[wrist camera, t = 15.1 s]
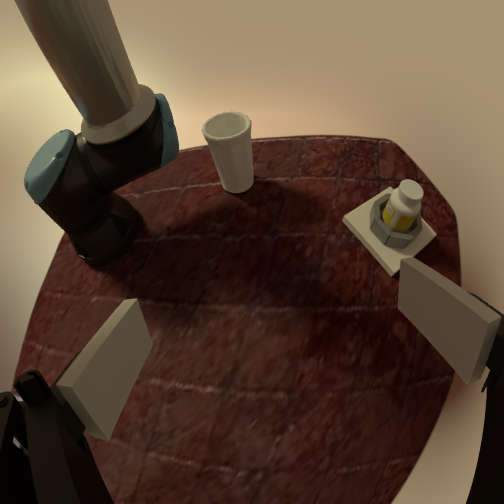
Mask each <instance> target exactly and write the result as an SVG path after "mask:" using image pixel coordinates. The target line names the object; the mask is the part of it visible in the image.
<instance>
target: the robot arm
mask: <svg viewBox="0 0 504 504" xmlns="http://www.w3.org/2000/svg"><path fill="white" fill-rule="evenodd" d="M15 2H16V4H17V6H18V8H19V10H20V12H21V14H22V16H23V18H24V20H25V22H26V24H27V26H28V27H29V29H30V31H31V33H32V35H33V36H34V38H35V40H36V42H37V44H38V46H39V47H40V49H41V51H42V52H43V54H44V56H45V58H46V59H47V61H48V62H49V64H50V66H51V67H52V69H53V71H54V72H55V74H56V76H57V77H58V79H59V81H60V82H61V84H62V85H63V87H64V89H65V90H66V92H67V93H68V95H69V96H70V98H71V100H72V101H73V103H74V104H75V106H76V107H77V108H78V110H79V112H80V113H81V115H82V116H83V118H84V119H83V121H82V124H81V133H79V134H77V135H75V134H74V132H72V131H71V130H68V129H65V130H64V131H60V132H58V133H56V134H55V135H54V136H52V137H51V138H50V139H49V140H48V141H47V142H46V143H45V144H44V145H43V146H42V147H41V148H40V149H39V151H38V152H37V153H36V155H35V156H34V157H33V159H32V161H31V163H30V164H29V166H28V168H27V171H26V173H25V178H24V186H25V189H26V191H27V192H28V194H29V195H30V196H31V198H32V199H33V200H34V202H35V204H37V205H39V206H40V207H41V209H42V210H44V211H45V212H46V214H48V215H49V217H51V219H53V221H55V222H56V223H57V224H58V225H59V226H60V227H61V228H62V229H63V230H64V231H65V232H66V233H67V234H68V237H69V239H70V241H71V243H72V245H73V247H74V249H75V251H76V253H77V254H78V256H79V257H80V258H81V259H83V260H84V261H85V262H86V263H88V264H90V265H94V266H101V265H105V264H108V263H110V262H112V261H114V260H116V259H117V258H118V257H120V256H121V255H122V254H123V253H124V252H125V251H126V250H127V249H128V247H129V246H130V244H131V243H132V241H133V239H134V237H135V235H136V232H137V229H138V216H137V213H136V211H135V209H134V208H133V206H132V205H131V204H130V203H129V202H128V201H127V200H126V199H124V198H123V197H121V196H119V195H118V194H116V193H114V192H113V191H114V190H116V189H118V188H120V187H122V186H124V185H126V184H128V183H130V182H132V181H134V180H136V179H138V178H140V177H142V176H144V175H147V174H149V173H151V172H153V171H155V170H159V169H160V168H161V167H162V166H164V165H166V164H168V163H170V162H172V161H173V160H175V159H176V157H177V156H178V153H179V142H178V136H177V132H176V127H175V125H174V121H173V116H172V113H171V110H170V107H169V104H168V102H167V100H166V98H165V96H164V95H163V94H154V93H153V91H152V90H151V89H150V88H149V87H147V86H144V85H141V84H138V82H137V79H136V76H135V74H134V71H133V69H132V66H131V64H130V61H129V59H128V56H127V53H126V51H125V48H124V45H123V42H122V40H121V37H120V34H119V32H118V29H117V26H116V23H115V20H114V17H113V15H112V12H111V9H110V6H109V3H108V0H15ZM398 309H399V310H400V311H401V312H402V313H403V314H404V315H405V316H406V317H407V318H408V319H409V320H410V321H411V322H412V323H413V324H414V325H415V327H416V328H417V329H418V330H419V331H420V332H421V333H422V334H423V335H424V336H425V337H426V338H427V340H428V341H429V342H430V343H431V344H432V345H433V346H434V347H435V348H436V349H437V351H438V352H439V353H440V354H441V355H442V356H443V357H444V358H445V360H446V361H447V362H448V363H449V364H450V365H451V366H452V368H453V369H454V370H455V371H456V372H457V373H458V375H459V376H460V377H461V378H462V379H463V381H464V382H465V383H466V384H467V385H469V384H471V383H472V382H474V381H476V380H478V379H480V378H481V376H482V374H483V371H484V369H485V366H487V367H488V368H489V369H490V372H489V374H488V377H487V379H486V381H485V383H484V386H483V388H482V391H481V392H484V390H485V388H486V387H487V398H486V410H485V420H484V428H483V435H482V441H481V447H480V452H479V457H478V462H477V467H476V471H475V475H474V478H473V482H472V486H471V490H470V493H469V496H468V499H467V502H466V504H504V315H503V314H502V313H500V312H499V311H498V310H496V309H495V308H493V307H492V306H491V305H488V303H486V302H485V301H483V300H482V299H481V298H479V297H478V296H476V295H474V294H472V293H469V292H467V291H465V290H464V289H462V288H461V287H459V286H458V285H456V284H455V283H453V282H452V281H450V280H449V279H447V278H445V277H444V276H442V275H441V274H439V273H438V272H436V271H435V270H433V269H431V268H430V267H428V266H427V265H425V264H423V263H422V262H420V261H419V260H417V259H415V258H414V257H409V258H404V259H400V282H399V297H398ZM152 346H153V342H152V339H151V337H150V334H149V331H148V328H147V326H146V323H145V320H144V317H143V314H142V311H141V308H140V305H139V302H138V299H128V300H124V301H123V302H122V303H121V304H120V306H119V307H118V308H117V309H116V310H115V311H114V313H113V314H112V315H111V316H110V317H109V318H108V320H107V321H106V322H105V323H104V324H103V326H102V327H101V328H100V329H99V330H98V332H97V333H96V334H95V335H94V336H93V338H92V339H91V340H90V341H89V343H88V344H87V345H86V346H85V348H84V349H83V350H82V351H80V352H79V353H78V354H76V355H75V356H74V357H73V359H72V360H71V361H70V362H69V364H68V365H67V366H66V367H65V370H63V371H62V373H61V374H60V375H59V376H58V378H57V379H56V380H55V382H54V383H53V384H52V386H51V387H50V388H49V386H48V384H47V383H46V381H45V380H44V378H43V376H42V374H41V373H40V372H39V371H38V370H30V371H27V372H25V373H23V374H21V375H20V376H19V377H18V378H17V379H16V380H15V382H14V385H13V386H14V387H15V389H16V390H17V392H18V393H19V395H20V396H21V398H22V399H23V401H17V399H16V398H15V396H14V395H13V393H11V392H3V393H0V504H114V502H113V500H112V498H111V496H110V494H109V492H108V490H107V488H106V486H105V484H104V481H103V479H102V477H101V475H100V472H99V470H98V468H97V465H96V463H95V460H94V458H93V455H92V453H91V450H90V447H89V445H88V442H87V439H86V438H85V436H84V435H83V434H82V433H83V431H84V429H85V428H86V429H87V430H88V431H89V433H90V434H91V435H92V436H93V437H94V438H99V439H105V440H109V439H110V437H111V434H112V432H113V430H114V427H115V425H116V423H117V421H118V418H119V416H120V414H121V412H122V409H123V407H124V405H125V403H126V401H127V399H128V396H129V394H130V392H131V390H132V388H133V386H134V383H135V381H136V379H137V377H138V375H139V373H140V371H141V369H142V367H143V365H144V363H145V361H146V358H147V356H148V354H149V352H150V350H151V348H152ZM14 437H15V438H16V440H17V441H18V442H19V443H20V448H18V447H17V446H16V445H15V444H14V443H13V438H14Z"/></svg>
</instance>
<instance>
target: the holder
mask: <svg viewBox="0 0 504 504" xmlns="http://www.w3.org/2000/svg"><path fill="white" fill-rule="evenodd" d="M393 191H394V190H393V189H392V188H391V187H389V188H387V189H386V190H384V191H383V192H381V193H380V194H378V195H376V196H375V197H373V198H372V199H370V200H369V201H367V202H366V203H364V204H362V205H361V206H359V207H358V208H356V209H354V210H353V211H351V212H350V213H348V214H347V215H345V216H344V217H343V222H344V223H345V224H346V226H347V227H348V228H349V229H350V230H351V231H352V232H353V233H354V234H355V235H356V237H357V238H358V239H359V240H360V241H361V242H362V243H363V244H364V246H365V247H366V248H367V249H368V250H369V251H370V252H371V254H372V255H373V256H374V257H375V258H376V259H377V261H378V262H379V263H380V264H381V265H382V266H383V268H384V269H385V270H386V271H387V272H388V274H389V275H390V276H393V275H394V274H395V273H396V272H397V271H398V270H400V259H404V258H409V257H414V256H415V255H416V254H418V253H419V252H420V251H421V250H422V249H423V248H424V247H425V246H426V245H427V244H428V243H429V242H430V241H431V240H432V239H433V238H434V237H435V236H436V235H437V234H436V233H435V232H434V231H433V230H432V229H431V228H430V226H429V225H428V224H427V223H426V222H425V221H424V220H423V219H422V218H421V212H420V211H419V213H418V215H417V216H416V218H415V220H414V221H413V223H412V225H411V226H410V228H409V229H408V231H407V233H406V234H403V233H397V232H392V231H391V230H390V229H389V228H388V227H387V226H386V225H385V224H384V223H383V221H382V220H381V216H382V214H383V211H384V209H385V207H386V205H387V202H388V200H389V198H390V196H391V194H392V192H393Z"/></svg>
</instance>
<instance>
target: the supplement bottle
mask: <svg viewBox="0 0 504 504" xmlns="http://www.w3.org/2000/svg"><path fill="white" fill-rule="evenodd" d="M422 197H423V190H422V188H421V187H420V185H419V184H417V183H416V182H414V181H412V180H403V181H402V182H401V184H400V186H399V188H396V189H395V190H394V191H393V192H392V194H391V196H390V198H389V200H388V202H387V205H386V207H385V209H384V211H383V214H382V216H381V220H382V221H383V223H384V224H385V225H386V226H387V227H388V228H389V229H390V230H391V231H392V232H397V233H403V234H406V233H407V231H408V229H409V228H410V226H411V225H412V223H413V221H414V220H415V218H416V216H417V215H418V213H419V211H420V208H421V202H420V201H421V199H422Z"/></svg>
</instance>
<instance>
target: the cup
mask: <svg viewBox="0 0 504 504" xmlns="http://www.w3.org/2000/svg"><path fill="white" fill-rule="evenodd" d="M202 132H203V135H204V137H205V139H206V141H207V142H208V145H209V148H210V151H211V154H212V157H213V160H214V163H215V166H216V168H217V171H218V174H219V177H220V180H221V183H222V186H223V188H224V189H225V190H226V191H228V192H231V193H241V192H244V191H246V190H248V189H249V188H250V187H251V186H252V184H253V182H254V174H253V160H252V145H251V120H250V119H249V117H248V116H247V115H245V114H243V113H240V112H224V113H221V114H217V115H215V116H213V117H211V118H209V119H208V120H207V121H206V122H205V123H204V125H203V129H202Z"/></svg>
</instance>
